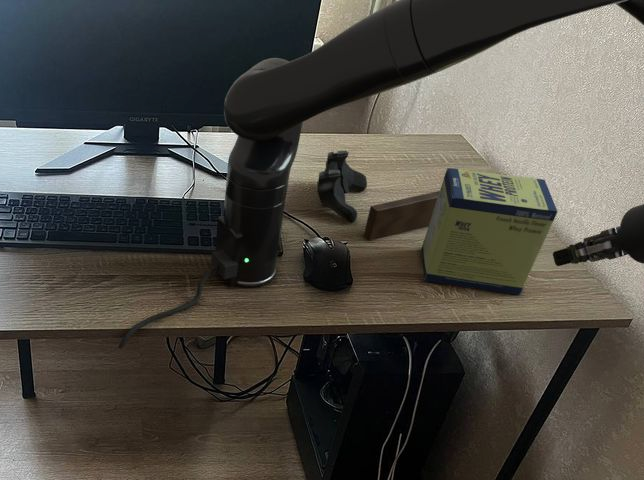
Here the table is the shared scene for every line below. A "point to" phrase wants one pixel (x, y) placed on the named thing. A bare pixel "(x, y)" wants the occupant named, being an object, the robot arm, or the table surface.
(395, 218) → the bar
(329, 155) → the game controller
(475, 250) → the protein box
